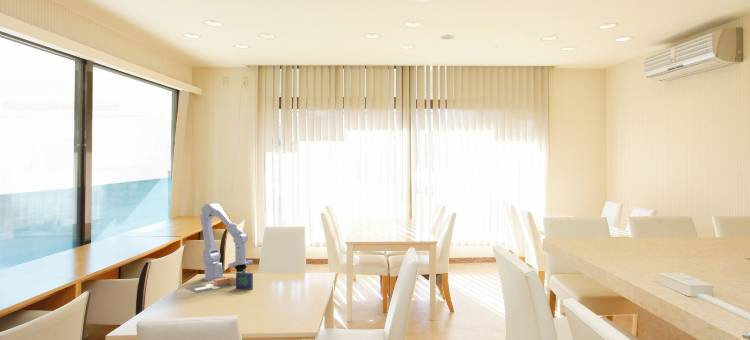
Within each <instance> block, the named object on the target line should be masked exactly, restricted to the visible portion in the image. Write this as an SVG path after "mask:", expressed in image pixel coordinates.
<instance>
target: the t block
mask: <svg viewBox="0 0 750 340" xmlns="http://www.w3.org/2000/svg"><path fill="white" fill-rule="evenodd" d="M213 282H214V285H215V286H220V285H225V284H231V285H234V284H236V277H234V276H231V275H227V274H226V275H223V278H219V279H214V281H213Z"/></svg>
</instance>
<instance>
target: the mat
mask: <svg viewBox="0 0 750 340" xmlns="http://www.w3.org/2000/svg"><path fill="white" fill-rule="evenodd" d="M234 286H235V287H236V284H234V285H231V284H225V285H220V286H215V285H214V281H213V282H209V283H203V284H198V285H194V286H192V285H191V286H188V287H185V289H186V290H188V291H191V292H194V293H195V294H200V293H206V292H210V291H215V290H220V289H225V288H229V287H234Z"/></svg>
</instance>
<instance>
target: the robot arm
mask: <svg viewBox="0 0 750 340" xmlns="http://www.w3.org/2000/svg"><path fill="white" fill-rule="evenodd" d="M200 210H201V215H200V223H201V229H202V234H203V235H202V236H203V237H202V238H203V242H204V249H203V251H202V256H201V259H202V262H203V264H204V277H203V276H202V280H203V279H204V280H206V281H213V280H215V279H220V278H223V276H224V275H223V274H224V272H223V271H224V269H223V263H222V262H219V261H220V260H221V257H222V256H221V253H220V250H219V248H218V247H217V246H216V244H215V243H216V242H215V237H214V231H213V225H212V224H213V223H212V219H213V218H214V217H215V218H216V217H218V219H219V220H220V221H221V222H222V223H223V224H224V225H225V226H226V230H227V232H228V233H229V234H230V235H231V237H232V238H233V239H232V241H233V243H234V247H235V248H234V249H235V254H234V255H235V259H234V260H235V261H233V262H231V263H230V262H229V263H228V264H227V267H228V268H235V270H236V273H237V272H242V271H243V270H247V265H249V264H250V265H252V264H254V263H253V260H252V259H247V254H246V253H247V251H246V250H247V247H246V246H247V245H246V244H247V242H248V239H249V237H248V234H247V233H246V232H243V230H241V229H240V228H239V227H238V224H237V223H235V222H232V221H231V219H230V218H229V217H228V215H227V214H226V213H225V211H224V209H223V207H222V206H221V204H220V203H218V202H214V203H205V204H204V205H203V206H202V207H201V209H200Z"/></svg>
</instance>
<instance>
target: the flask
mask: <svg viewBox="0 0 750 340" xmlns="http://www.w3.org/2000/svg"><path fill="white" fill-rule="evenodd" d="M235 278H236V285H235V290H250V291H251V290H253V289H254V273H253V271H251V272H247V269H245V270H243V271H242V272H237V271H236V273H235Z"/></svg>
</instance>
